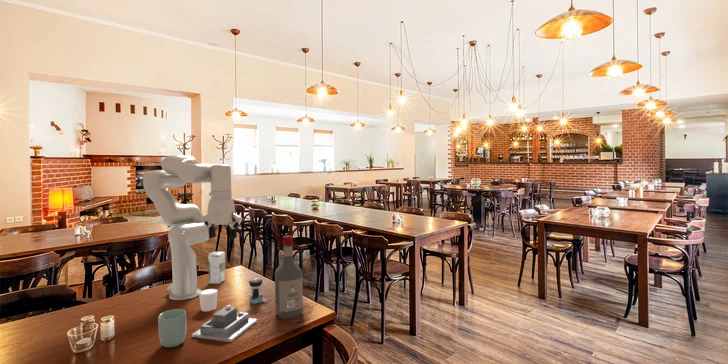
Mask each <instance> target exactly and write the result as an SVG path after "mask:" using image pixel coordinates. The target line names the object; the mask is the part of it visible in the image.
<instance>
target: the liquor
mask: <svg viewBox="0 0 728 364" xmlns="http://www.w3.org/2000/svg"><path fill="white" fill-rule="evenodd" d="M293 240H294V239H293V235H289V234H287V235H283V236H282V245H283V259H282V261H281V263H280V264H279V266H278V267H277V268H276V269H275V271H274V292H275V295H274V296H275V297H274V298H275V300H274V301H275V313H276V314H277V316H278V317H279V318H280V319H284V320H288V319H292V318H297V317H300V316H301V315H302V314H303V312H304V294H303V293H304V291H303V289H304V287H303V284H304V283H303V280H304V279H303V270H302V269H301V268H300V266H299V265H298V264H297V263H296V262H295V261H294V256H293V255H294V251H293V249H294V248H293V245H294V244H293V243H294V242H293Z"/></svg>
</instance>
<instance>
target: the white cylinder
mask: <svg viewBox="0 0 728 364" xmlns="http://www.w3.org/2000/svg"><path fill="white" fill-rule="evenodd" d="M198 296H199V297H198V298H199V304H200V311H202V312H211V311H214V310H216V309H217V306H218V305H217V303H218V289H216V288H207V289H203V290H201V291H200V292H199V295H198Z"/></svg>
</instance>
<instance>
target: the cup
mask: <svg viewBox="0 0 728 364" xmlns="http://www.w3.org/2000/svg"><path fill="white" fill-rule="evenodd" d="M157 324H158V328H157V329H158V337H159V342H160V344H161V345H162V346H163V347H164V348H175V347H178V346H180V345H181V344H182V343H184V341H185V339H186V336H187V330H188V329H187V311H186V310H185V309H183V308H175V309H170V310H166V311H163V312H161V313H160V314H159V315H158V317H157Z"/></svg>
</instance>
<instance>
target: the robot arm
mask: <svg viewBox="0 0 728 364" xmlns="http://www.w3.org/2000/svg"><path fill="white" fill-rule="evenodd" d="M160 167H161V168H162V169H157V170H155V169H154V170H151V171H148V172H147V173H145V174H144V175H143V178H142V185H143V189H144V192H145V194H146V195H147V197H148V198H149V199H150V200H151V201H152V202H153V204H154V205H155V208H156V209H157V211H158V214H159V215H160V217H161V219H162V221H163V222H164V224H165V225H166V226H168V227H169V228H170V229H169V231H168V234H167V237H168V242H169V246H170V253H171V270H172V271H171V272H172V284H171V283H170V284H169V285H168V286H167V287H166V290H167V291H170V293H169V294H168V299H170V300H172V301H184V300H185V301H186V300H190V299H193V298H197V297H198V296H199V292H200V291H202V290H201V289H200V288H199V287H198V277H197V275H198V273H197V271H198V270H197V254H196V252H195V250H194V249H193V248H192V247H191V246H192V245H196V244H201V243H204V242H207V241H208V240H210V239H213V238H216V233H217V232H216V227H215V225H218V226H219V225H221V226H224V225H225V226H226V225H228V226H229V227H230V230H229V238H230V240H234V239H237V237H238V236H237V235H238V233H237V232H238V231H237V229H238V228H239V226H240V225H241V223H242V222H243V221H242V220H243V217H242V216H240V215H238V214H237V213H236V208H235V207H236V206H235V201H234V198H232V171H231V170H232V169H231V166H230V165H229V164H228V163H227V164H222V163H220V164H216V163H198V161H197V159H196V158H195V157H194V156H192V155H178V154H177V155H173V154H172V155H168V156H166V157H164V158H163V159H162V160H161V165H160ZM187 183H189V184H190V183H191V184H201V183H202V184H204V183H205V184H206V183H210V192H209V193H208V195H209V197H210V198H209V200H208V205H207V214H205V215H204V214H203V212H202V210H201V209H200V207H198V205H196V204H194V203H185V204H180V203H179V202H178V200H177V199H176V197H175V196H174V194H172V193H171V192H169V191H168V190H166V189H174V188H175V189H176V188H177V189H178V188H182V187H184V186H185V185H186V184H187Z"/></svg>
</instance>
